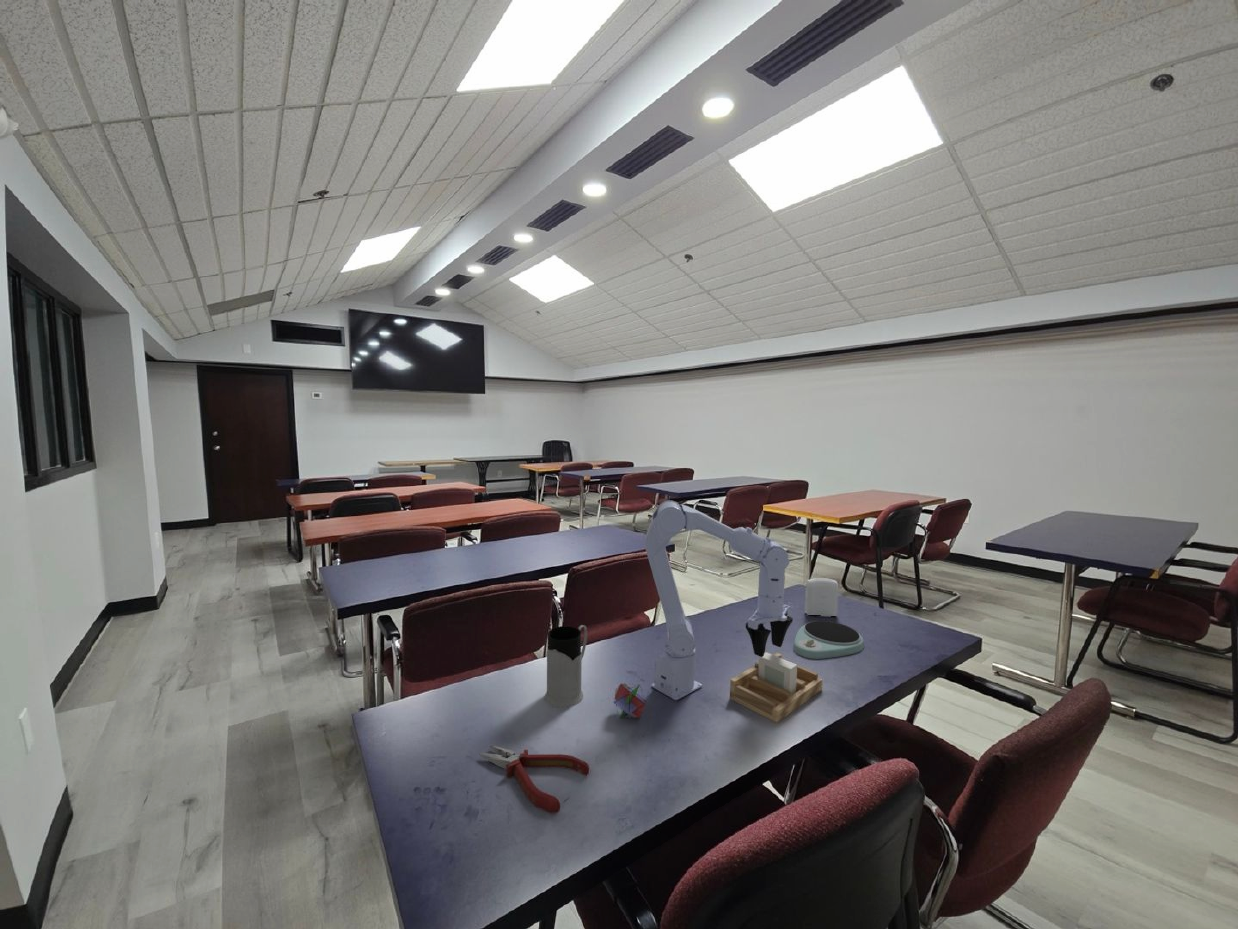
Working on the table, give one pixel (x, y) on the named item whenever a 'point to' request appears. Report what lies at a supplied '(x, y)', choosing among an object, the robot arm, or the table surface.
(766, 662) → the white rectangular box
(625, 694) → the geometric puzzle
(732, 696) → the wooden compartment tray
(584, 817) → the table surface
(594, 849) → the table surface
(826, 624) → the electric hot plate
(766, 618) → the robot arm
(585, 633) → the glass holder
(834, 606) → the photo printer
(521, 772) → the pliers
